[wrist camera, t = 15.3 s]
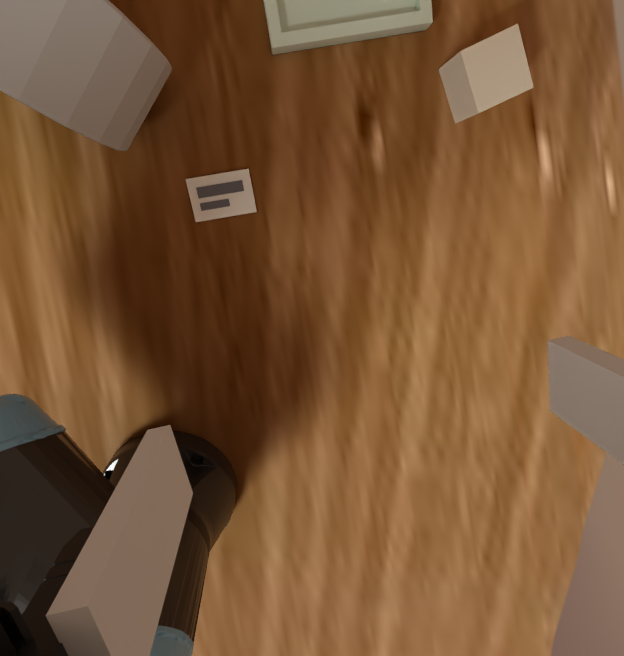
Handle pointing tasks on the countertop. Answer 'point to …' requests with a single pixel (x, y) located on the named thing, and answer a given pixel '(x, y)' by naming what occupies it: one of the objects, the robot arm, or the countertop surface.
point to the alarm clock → (80, 66)
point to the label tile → (221, 195)
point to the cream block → (486, 74)
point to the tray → (341, 21)
